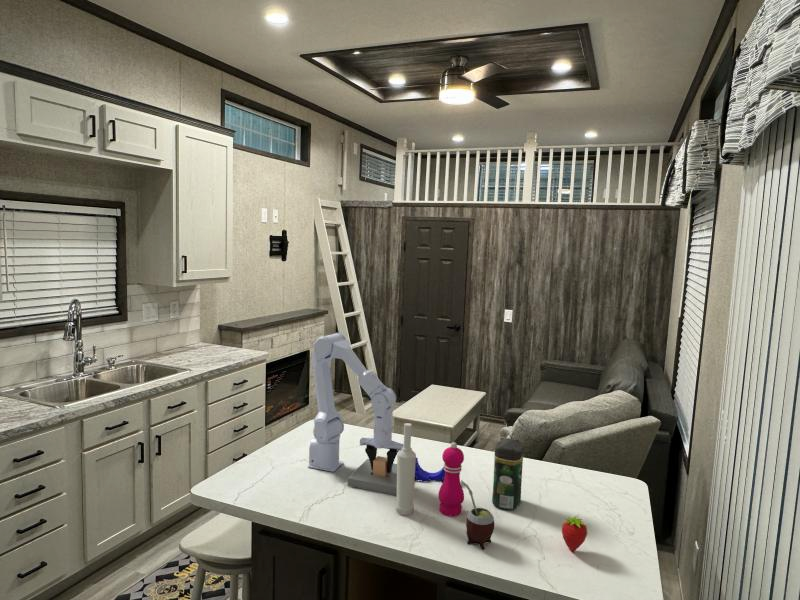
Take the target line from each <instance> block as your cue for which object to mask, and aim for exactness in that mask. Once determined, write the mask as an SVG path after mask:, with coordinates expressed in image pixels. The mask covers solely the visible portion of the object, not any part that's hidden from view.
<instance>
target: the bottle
mask: <svg viewBox="0 0 800 600" xmlns="http://www.w3.org/2000/svg"><path fill="white" fill-rule="evenodd" d="M412 428H413V427H412V423H410V422H409V423H408V422H406V423H404V424H403V444H404V445H403V448H402V450H401V451H398V453H397V455H396V457H397V458H396V459H397V462H396V464H397V495H396V503H395V506H394V507H395V511H396V513H397V514H398V515H401V516H410V515H411V514H413V513H414V508H415V505H414V493H415V491H414V490H415V479H416V477H415V463H416V458H417V454H416V452H415V451H414V450H413V449H412V447H411V445H412V444H411V443H412Z"/></svg>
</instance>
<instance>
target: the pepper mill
mask: <svg viewBox="0 0 800 600" xmlns="http://www.w3.org/2000/svg"><path fill="white" fill-rule="evenodd" d="M441 457H442V461H443V467H444V470H445V478H444V479H443V482H442V484H441V485H440V487H439V490H438V495H437V497H438V500H439V501H440V503H439V512H440V514H442V515H444V516H446V517H458V516H460V515H461V514H462V510H463V506H462V504H463V502H464V501H465V494H464V492H465V491H464V489H463V486H462V484H461V483H462V482H461V477H460V475H461V472H462V466H463V465H462V464H463V463H464V460H465V455H464V452H463V451H462V449H461V448H459V447H458V444H457V442H456V441H455V442H454V441H452V442H451V443H450V446H449V447H446V448H445V449H444V450H443V452H442V456H441ZM444 463H445V464H444Z"/></svg>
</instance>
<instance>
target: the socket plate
mask: <svg viewBox="0 0 800 600" xmlns="http://www.w3.org/2000/svg"><path fill="white" fill-rule="evenodd" d="M346 483H347V487H351V486H352V487H351V488H356V487H358V488H357V489H362V490H366V489H367V490H368V491H371V490H372V492H376V491H377V493H383V494H387V495H393V496H397V463H394V462H393V465H392V470H391V472H390V473H389V475H388V476H387V477H382V476H377V475H373V470H372V469H371V464H370V460H369V458H367V459H366V460H365V461H363V463H362V464H360V465H359V466H358V468H356V469H355V470H354V471H353V472H352V473H351V474H350V475H349V476H348V477H347V482H346ZM367 490H366V491H367Z"/></svg>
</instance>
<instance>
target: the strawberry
mask: <svg viewBox="0 0 800 600" xmlns="http://www.w3.org/2000/svg"><path fill="white" fill-rule="evenodd" d="M579 515H580V514H579V513H578V514H577V515H575V516H574V517H570V516H567V518H564V520H566V521H564V522H563V524H562V527H561V534H562V539H563V540H564V542H565V545H566V546H567V548H568V550H569V551H570V552H571V553H574V552H575V551H576V550H578V548H579V547H581V545H582V544H583V543H584V542H585V540H586V538H587V536H588V527H587V524H585V523H584V522H583V521H582V520H583V519H582V518H577V517H578V516H579Z"/></svg>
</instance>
